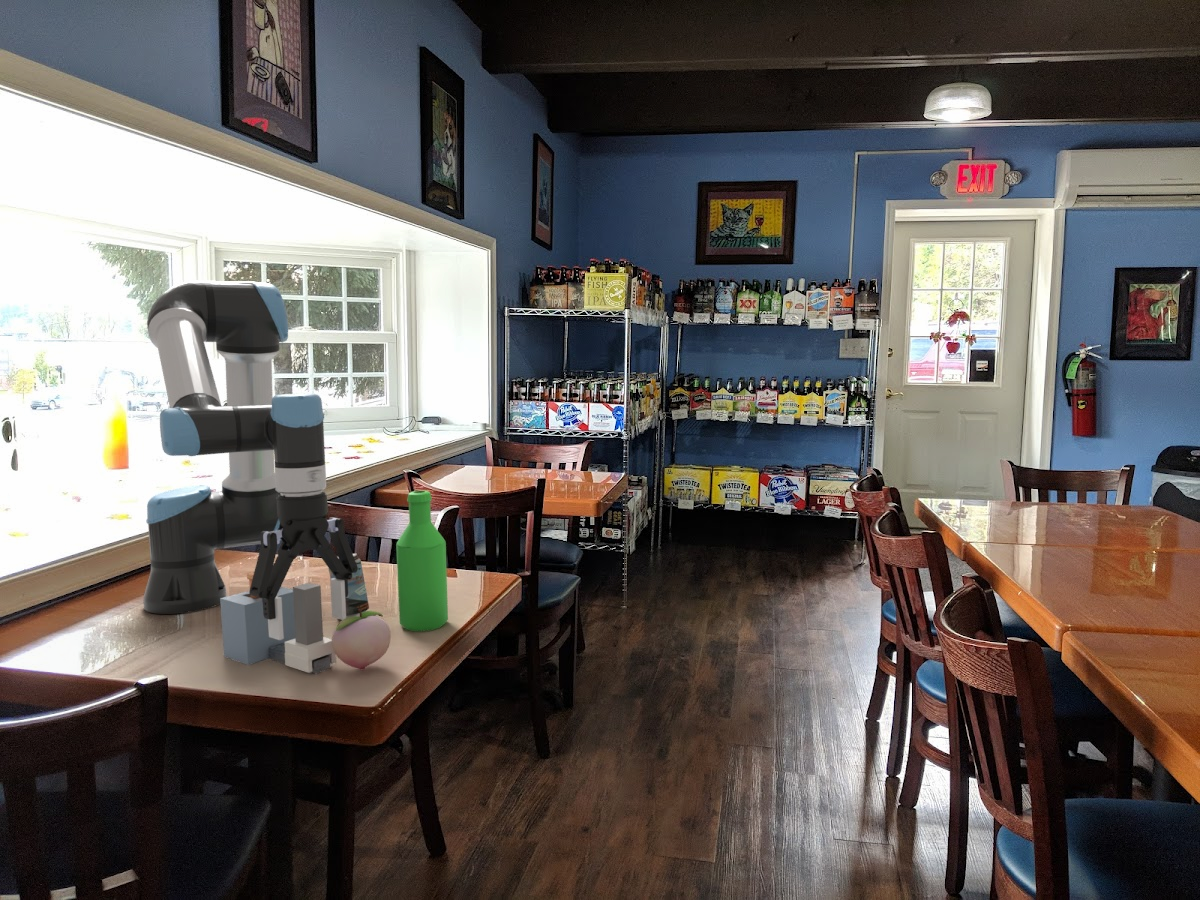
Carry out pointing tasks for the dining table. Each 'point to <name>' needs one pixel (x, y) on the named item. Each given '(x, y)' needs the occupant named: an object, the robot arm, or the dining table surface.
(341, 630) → the decorative fruit
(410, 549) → the bottle
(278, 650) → the rail
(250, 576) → the plunger
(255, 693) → the dining table surface
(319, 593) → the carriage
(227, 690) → the dining table surface
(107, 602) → the dining table surface
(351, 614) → the beverage can
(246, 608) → the housing
